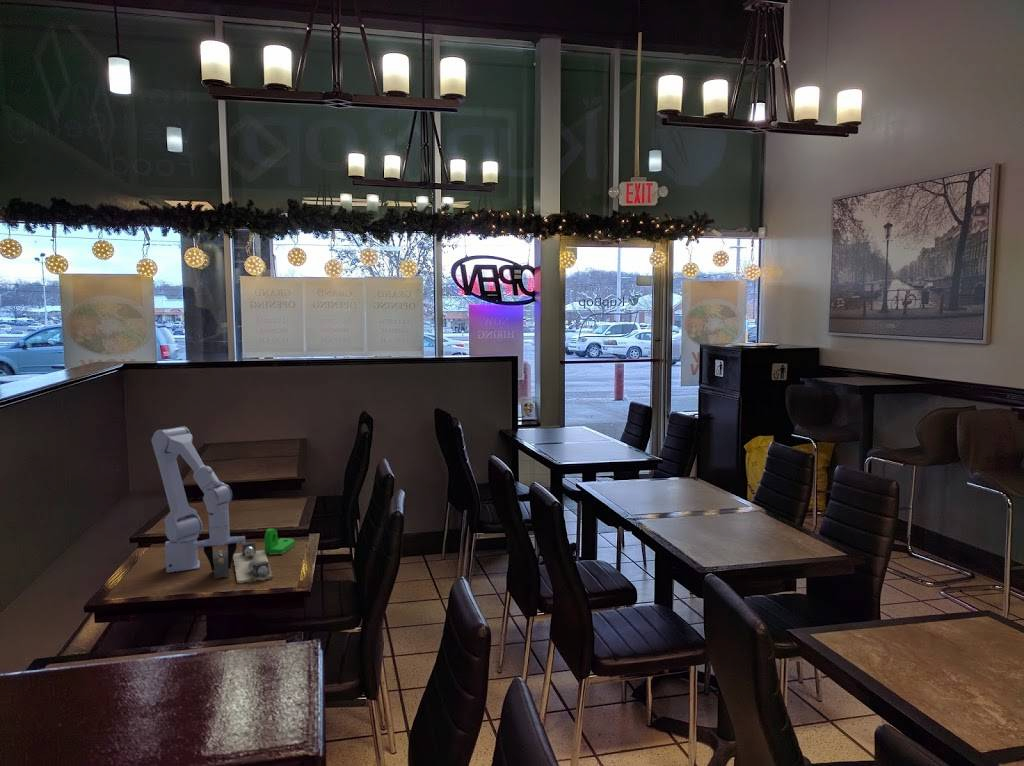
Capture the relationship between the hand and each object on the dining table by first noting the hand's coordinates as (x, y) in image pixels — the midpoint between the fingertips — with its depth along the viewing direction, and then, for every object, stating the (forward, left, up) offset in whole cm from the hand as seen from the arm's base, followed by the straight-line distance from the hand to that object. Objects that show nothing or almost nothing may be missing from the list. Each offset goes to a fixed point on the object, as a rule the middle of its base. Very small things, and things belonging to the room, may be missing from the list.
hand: (221, 569), depth 226 cm
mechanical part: (+20, +18, -2) cm, 27 cm away
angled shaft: (+10, -7, -2) cm, 13 cm away
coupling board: (+9, +3, -2) cm, 10 cm away
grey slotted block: (0, 0, -1) cm, 1 cm away
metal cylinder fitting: (+9, +13, -2) cm, 16 cm away
